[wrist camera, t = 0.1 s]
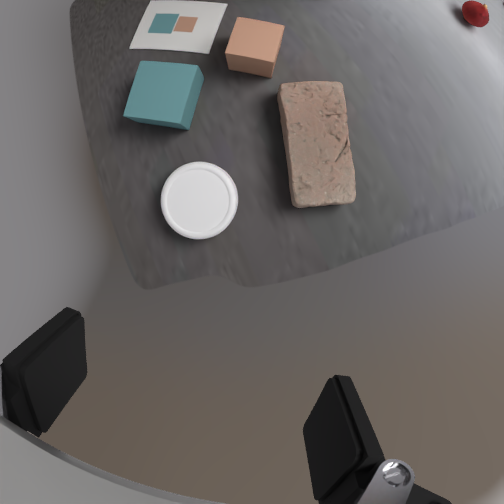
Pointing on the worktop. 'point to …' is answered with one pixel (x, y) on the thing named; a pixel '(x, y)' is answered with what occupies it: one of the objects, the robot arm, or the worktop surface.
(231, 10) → the worktop surface
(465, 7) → the onion
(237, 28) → the clay block
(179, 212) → the coaster
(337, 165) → the brick
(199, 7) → the page
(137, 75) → the base block
